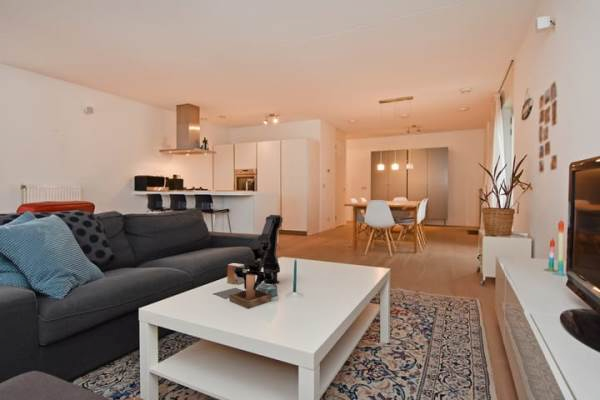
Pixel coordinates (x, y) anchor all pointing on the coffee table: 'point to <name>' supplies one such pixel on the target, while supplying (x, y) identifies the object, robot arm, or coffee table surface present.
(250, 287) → the tan cylinder
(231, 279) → the small box
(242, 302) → the crate
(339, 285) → the coffee table surface
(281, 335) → the coffee table surface
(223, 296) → the mat
